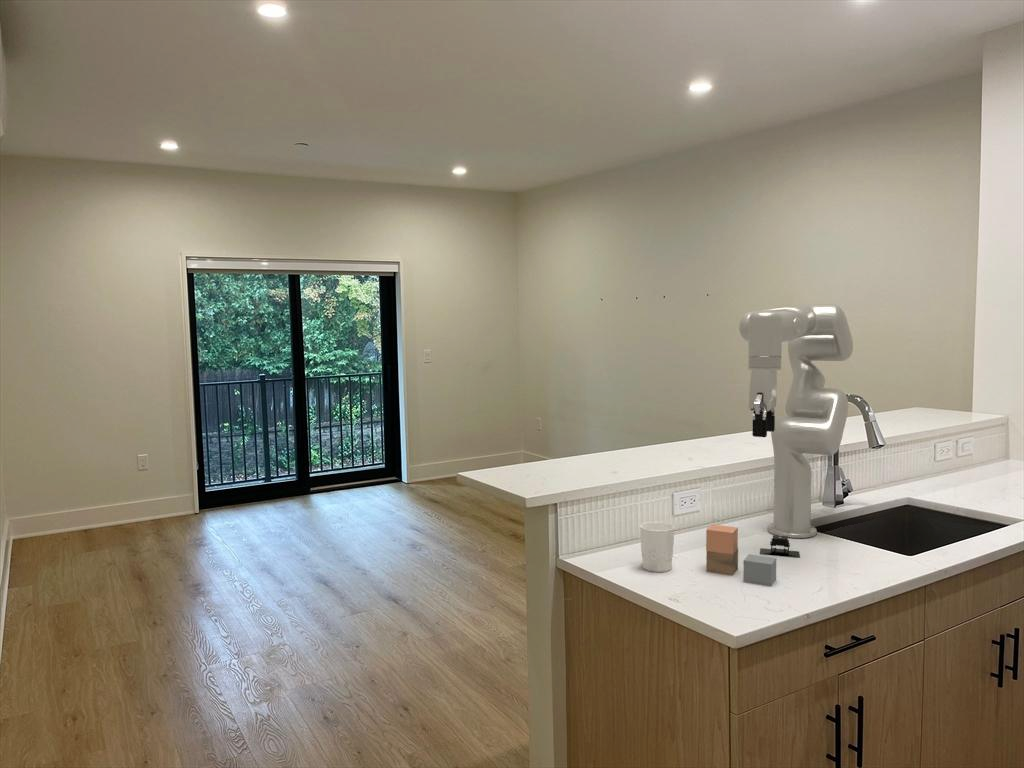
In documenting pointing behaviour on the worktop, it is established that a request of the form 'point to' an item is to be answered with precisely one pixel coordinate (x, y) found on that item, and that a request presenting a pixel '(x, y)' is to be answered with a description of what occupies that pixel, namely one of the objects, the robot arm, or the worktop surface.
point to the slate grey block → (759, 570)
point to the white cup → (657, 546)
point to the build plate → (779, 552)
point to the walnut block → (722, 563)
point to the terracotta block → (722, 539)
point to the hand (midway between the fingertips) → (763, 433)
